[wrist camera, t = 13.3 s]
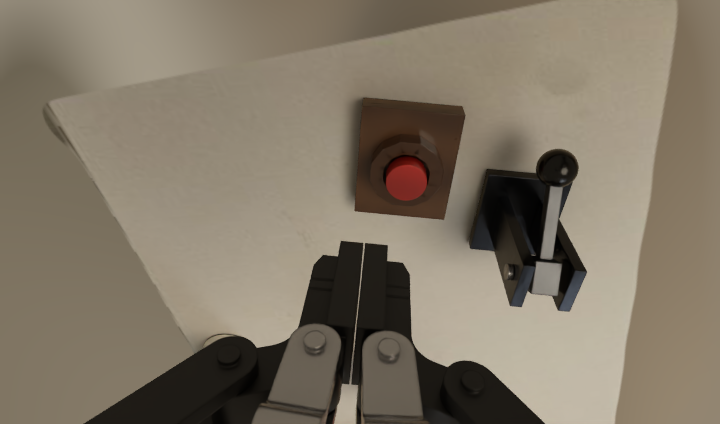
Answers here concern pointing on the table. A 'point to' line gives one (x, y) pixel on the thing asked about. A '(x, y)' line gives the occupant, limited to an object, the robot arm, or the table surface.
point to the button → (406, 178)
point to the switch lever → (551, 218)
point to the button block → (407, 154)
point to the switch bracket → (522, 234)
